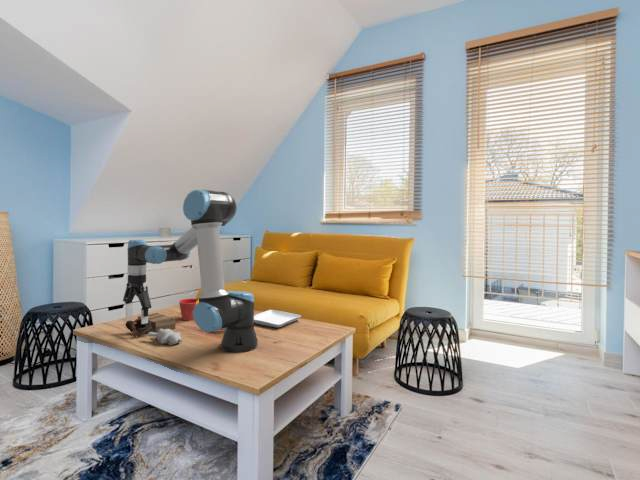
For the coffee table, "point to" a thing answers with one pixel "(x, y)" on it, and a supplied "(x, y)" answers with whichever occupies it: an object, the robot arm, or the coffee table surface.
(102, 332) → the coffee table surface
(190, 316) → the flower pot
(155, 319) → the walnut block
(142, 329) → the pottery mug
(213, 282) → the robot arm
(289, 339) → the coffee table surface
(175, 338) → the bunny figurine
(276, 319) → the salad plate
